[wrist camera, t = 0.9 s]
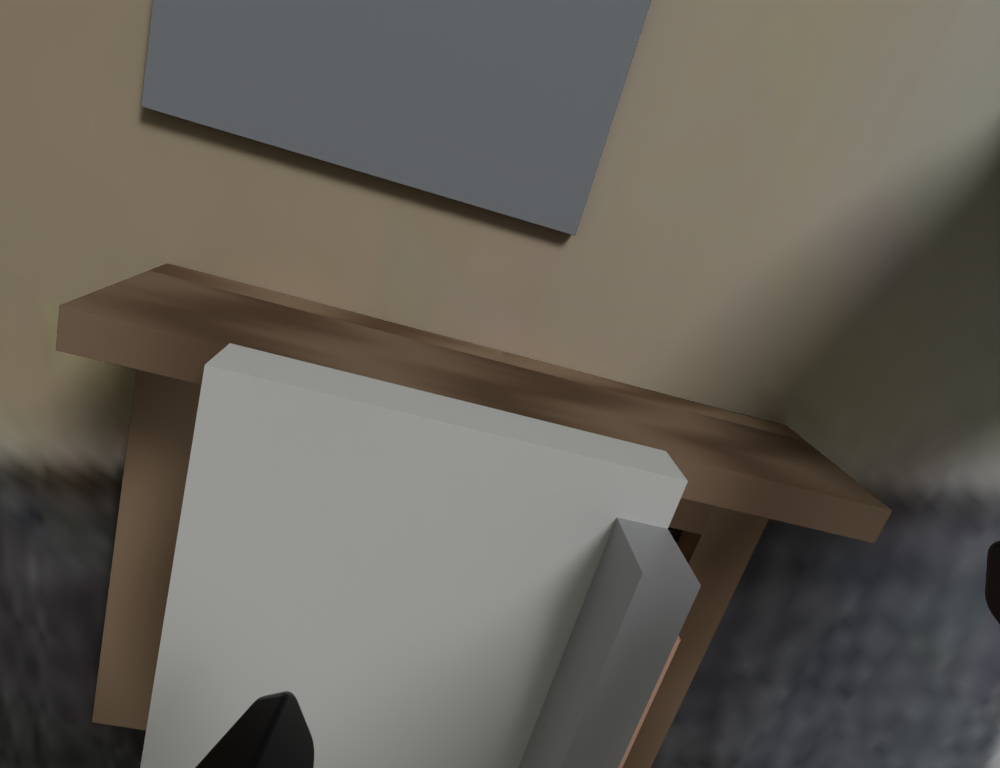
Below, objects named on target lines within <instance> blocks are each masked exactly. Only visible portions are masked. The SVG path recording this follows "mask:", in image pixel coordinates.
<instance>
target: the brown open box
mask: <svg viewBox="0 0 1000 768" xmlns="http://www.w3.org/2000/svg"><path fill="white" fill-rule="evenodd" d="M229 343H231V344H235V345H239V346H243V347H247V348H251V349H256V350H260V351H264V352H268V353H272V354H276V355H280V356H284V357H288V358H292V359H296V360H300V361H304V362H308V363H312V364H316V365H320V366H324V367H328V368H332V369H336V370H340V371H344V372H348V373H352V374H357V375H361V376H365V377H369V378H373V379H377V380H381V381H385V382H389V383H393V384H397V385H401V386H405V387H409V388H413V389H417V390H421V391H425V392H429V393H433V394H437V395H441V396H445V397H449V398H453V399H457V400H462V401H466V402H470V403H474V404H478V405H482V406H486V407H490V408H494V409H498V410H502V411H506V412H510V413H514V414H518V415H522V416H526V417H530V418H534V419H538V420H542V421H546V422H550V423H554V424H558V425H562V426H567V427H571V428H575V429H579V430H583V431H587V432H591V433H595V434H599V435H603V436H607V437H611V438H615V439H619V440H623V441H627V442H631V443H635V444H639V445H643V446H647V447H651V448H655V449H659V450H663V451H666V452H667V453H668V455H669V456H670V457H671V459H672V460H673V461H674V463H675V464H676V465H677V467H678V468H679V470H680V471H681V472H682V474H683V475H684V476H685V478H686V479H687V481H688V482H687V485H686V487H685V489H684V492H683V494H682V497H681V499H680V501H679V504H678V506H677V508H676V511H675V513H674V515H673V518H672V520H671V522H670V525H669V527H671V528H675V529H680V530H683V531H682V533H681V536H680V538H679V540H678V543H677V545H678V547H679V549H680V551H681V552H682V554H683V556H684V557H685V559H686V561H687V563H688V564H689V566H690V568H691V569H692V571H693V573H694V574H695V576H696V578H697V580H698V581H699V583H700V585H701V587H700V589H699V591H698V593H697V596H696V598H695V600H694V602H693V604H692V607H691V609H690V611H689V613H688V615H687V618H686V620H685V622H684V624H683V626H682V629H681V631H680V633H679V637H680V639H681V641H680V643H679V645H678V647H677V649H676V652H675V654H674V656H673V658H672V660H671V662H670V665H669V667H668V669H667V671H666V673H665V676H664V678H663V680H662V682H661V684H660V686H659V689H658V691H657V693H656V695H655V697H654V700H653V702H652V704H651V706H650V708H649V710H648V713H647V715H646V717H645V719H644V721H643V724H642V726H641V728H640V730H639V732H638V734H637V737H636V739H635V741H634V743H633V745H632V748H631V750H630V752H629V754H628V756H627V758H626V761H625V763H624V765H623V767H622V768H651V766H652V764H653V762H654V760H655V758H656V755H657V753H658V751H659V749H660V747H661V745H662V743H663V741H664V739H665V737H666V734H667V732H668V730H669V728H670V726H671V724H672V722H673V720H674V718H675V716H676V713H677V711H678V709H679V707H680V705H681V703H682V701H683V699H684V697H685V694H686V692H687V690H688V688H689V686H690V684H691V682H692V680H693V678H694V676H695V673H696V671H697V669H698V667H699V665H700V663H701V661H702V659H703V657H704V655H705V652H706V650H707V648H708V646H709V644H710V642H711V640H712V638H713V636H714V633H715V631H716V629H717V627H718V625H719V623H720V621H721V619H722V617H723V615H724V612H725V610H726V608H727V606H728V604H729V602H730V600H731V598H732V596H733V594H734V591H735V589H736V587H737V585H738V583H739V581H740V579H741V577H742V575H743V572H744V570H745V568H746V566H747V564H748V562H749V560H750V558H751V556H752V554H753V551H754V549H755V547H756V545H757V543H758V541H759V539H760V537H761V535H762V533H763V530H764V528H765V526H766V524H767V522H768V520H769V519H773V520H777V521H782V522H786V523H790V524H794V525H798V526H803V527H807V528H811V529H815V530H820V531H824V532H828V533H832V534H837V535H841V536H845V537H849V538H854V539H858V540H862V541H866V542H870V543H875V542H876V540H877V538H878V536H879V534H880V533H881V531H882V529H883V527H884V525H885V523H886V521H887V520H888V518H889V516H890V514H891V512H892V510H891V509H890V508H888V507H887V506H886V505H885V504H883V503H882V502H881V501H880V500H878V499H877V498H876V497H875V496H873V495H872V494H871V493H870V492H868V491H867V490H866V489H865V488H863V487H862V486H861V485H860V484H859V483H857V482H856V481H855V480H854V479H852V478H851V477H850V476H849V475H847V474H846V473H845V472H844V471H842V470H841V469H840V468H839V467H837V466H836V465H835V464H834V463H832V462H831V461H830V460H829V459H827V458H826V457H825V456H824V455H822V454H821V453H820V452H819V451H817V450H816V449H815V448H814V447H812V446H811V445H810V444H809V443H807V442H806V441H805V440H804V439H802V438H801V437H800V436H799V435H797V434H796V433H795V432H794V431H792V430H791V429H790V428H789V427H787V426H784V425H780V424H776V423H772V422H769V421H765V420H761V419H757V418H753V417H750V416H746V415H742V414H738V413H734V412H730V411H727V410H723V409H719V408H715V407H711V406H708V405H704V404H700V403H696V402H692V401H689V400H685V399H681V398H677V397H673V396H670V395H666V394H662V393H658V392H654V391H651V390H647V389H643V388H639V387H635V386H632V385H628V384H624V383H620V382H616V381H612V380H609V379H605V378H601V377H597V376H593V375H590V374H586V373H582V372H578V371H574V370H571V369H567V368H563V367H559V366H555V365H552V364H548V363H544V362H540V361H536V360H533V359H529V358H525V357H521V356H517V355H514V354H510V353H506V352H502V351H498V350H495V349H491V348H487V347H483V346H479V345H475V344H472V343H468V342H464V341H460V340H456V339H453V338H449V337H445V336H441V335H437V334H434V333H430V332H426V331H422V330H418V329H415V328H411V327H407V326H403V325H399V324H396V323H392V322H388V321H384V320H380V319H377V318H373V317H369V316H365V315H361V314H357V313H354V312H350V311H346V310H342V309H338V308H335V307H331V306H327V305H323V304H319V303H316V302H312V301H308V300H304V299H300V298H297V297H293V296H289V295H285V294H281V293H278V292H274V291H270V290H266V289H262V288H259V287H255V286H251V285H247V284H243V283H239V282H236V281H232V280H228V279H224V278H220V277H217V276H213V275H209V274H205V273H201V272H198V271H194V270H190V269H186V268H182V267H179V266H175V265H171V264H165V265H162V266H160V267H157V268H154V269H152V270H149V271H147V272H144V273H142V274H139V275H136V276H134V277H131V278H129V279H126V280H123V281H121V282H118V283H116V284H113V285H111V286H108V287H105V288H103V289H100V290H98V291H95V292H93V293H90V294H87V295H85V296H82V297H80V298H77V299H74V300H72V301H69V302H67V303H64V304H62V305H60V306H59V317H58V329H57V341H56V350H57V351H61V352H66V353H70V354H74V355H78V356H82V357H87V358H91V359H95V360H99V361H104V362H108V363H112V364H116V365H121V366H125V367H129V368H133V369H137V371H136V379H135V386H134V394H133V402H132V410H131V418H130V426H129V434H128V442H127V450H126V457H125V465H124V473H123V481H122V489H121V497H120V505H119V513H118V521H117V528H116V536H115V544H114V552H113V560H112V568H111V576H110V584H109V592H108V600H107V607H106V615H105V623H104V631H103V639H102V647H101V655H100V663H99V671H98V678H97V686H96V694H95V702H94V710H93V718H92V722H94V723H100V724H107V725H113V726H120V727H127V728H133V729H140V730H146V728H147V722H148V716H149V710H150V703H151V697H152V691H153V685H154V678H155V672H156V666H157V660H158V653H159V647H160V641H161V635H162V628H163V622H164V616H165V610H166V604H167V597H168V591H169V585H170V579H171V572H172V566H173V560H174V554H175V547H176V541H177V535H178V529H179V522H180V516H181V510H182V504H183V497H184V491H185V485H186V479H187V472H188V466H189V460H190V454H191V447H192V441H193V435H194V429H195V422H196V416H197V410H198V404H199V397H200V391H201V385H202V379H203V372H204V366H205V364H206V363H207V362H208V361H210V360H211V359H212V358H213V357H214V356H215V355H217V354H218V353H219V352H220V351H221V350H222V349H224V348H225V347H226V346H227V345H228V344H229Z"/></svg>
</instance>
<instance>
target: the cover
mask: <svg viewBox="0 0 1000 768" xmlns="http://www.w3.org/2000/svg"><path fill="white" fill-rule="evenodd" d="M687 482H688V481H687V479H686V478H685V476H684V475H683V474H682V472H681V471H680V470H679V468H678V467H677V465H676V464H675V463H674V461H673V460H672V459H671V457H670V456H669V455H668V453H667V452H666V451H663V450H659V449H655V448H651V447H647V446H643V445H639V444H635V443H631V442H627V441H623V440H619V439H615V438H611V437H607V436H603V435H599V434H595V433H591V432H587V431H583V430H579V429H575V428H571V427H567V426H562V425H558V424H554V423H550V422H546V421H542V420H538V419H534V418H530V417H526V416H522V415H518V414H514V413H510V412H506V411H502V410H498V409H494V408H490V407H486V406H482V405H478V404H474V403H470V402H466V401H462V400H457V399H453V398H449V397H445V396H441V395H437V394H433V393H429V392H425V391H421V390H417V389H413V388H409V387H405V386H401V385H397V384H393V383H389V382H385V381H381V380H377V379H373V378H369V377H365V376H361V375H357V374H352V373H348V372H344V371H340V370H336V369H332V368H328V367H324V366H320V365H316V364H312V363H308V362H304V361H300V360H296V359H292V358H288V357H284V356H280V355H276V354H272V353H268V352H264V351H260V350H256V349H251V348H247V347H243V346H239V345H235V344H231V343H229V344H228V345H227V346H226V347H225V348H224V349H222V350H221V351H220V352H219V353H218V354H217V355H215V356H214V357H213V358H212V359H211V360H210V361H208V362H207V363H206V364H205V366H204V372H203V379H202V385H201V391H200V397H199V404H198V410H197V416H196V422H195V429H194V435H193V441H192V447H191V454H190V460H189V466H188V472H187V479H186V485H185V491H184V497H183V504H182V510H181V516H180V522H179V529H178V535H177V541H176V547H175V554H174V560H173V566H172V572H171V579H170V585H169V591H168V597H167V604H166V610H165V616H164V622H163V628H162V635H161V641H160V647H159V653H158V660H157V666H156V672H155V678H154V685H153V691H152V697H151V703H150V710H149V716H148V722H147V728H146V735H145V741H144V747H143V753H142V760H141V766H140V768H195V767H196V766H197V765H198V764H199V763H200V762H201V761H202V759H203V758H204V757H205V756H206V755H207V754H208V753H209V752H210V751H211V749H212V748H213V747H214V746H215V745H216V744H217V743H218V742H219V740H220V739H221V738H222V737H223V736H224V735H225V734H226V733H227V732H228V730H229V729H230V728H231V727H232V726H233V725H234V724H235V723H236V722H237V720H238V719H239V718H240V717H241V716H242V715H243V714H244V713H245V712H246V710H247V709H248V708H249V707H250V706H251V705H252V704H253V703H254V702H255V701H256V700H257V699H258V698H260V697H262V696H265V695H270V694H274V693H279V692H284V691H289V692H292V693H293V694H294V695H295V697H296V699H297V701H298V703H299V706H300V708H301V711H302V713H303V716H304V718H305V721H306V723H307V726H308V728H309V730H310V733H311V736H312V739H313V743H314V767H313V768H618V767H619V765H620V763H621V760H622V758H623V756H624V754H625V752H626V749H627V747H628V745H629V743H630V741H631V738H632V736H633V734H634V732H635V730H636V727H637V725H638V723H639V721H640V719H641V716H642V714H643V712H644V710H645V708H646V705H647V703H648V701H649V699H650V697H651V695H652V692H653V690H654V688H655V686H656V684H657V681H658V679H659V677H660V675H661V673H662V670H663V668H664V666H665V664H666V662H667V659H668V657H669V655H670V653H671V651H672V648H673V646H674V644H675V642H676V640H677V637H678V635H679V633H680V631H681V629H682V626H683V624H684V622H685V620H686V618H687V615H688V613H689V611H690V609H691V607H692V604H693V602H694V600H695V598H696V596H697V593H698V591H699V589H700V587H701V585H700V583H699V581H698V580H697V578H696V576H695V574H694V573H693V571H692V569H691V568H690V566H689V564H688V563H687V561H686V559H685V557H684V556H683V554H682V552H681V551H680V549H679V547H678V545H677V544H676V542H675V540H674V539H673V537H672V535H671V533H670V532H669V530H668V527H669V525H670V522H671V520H672V518H673V515H674V513H675V511H676V508H677V506H678V504H679V501H680V499H681V497H682V494H683V492H684V489H685V487H686V485H687Z"/></svg>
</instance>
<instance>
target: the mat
mask: <svg viewBox="0 0 1000 768" xmlns="http://www.w3.org/2000/svg"><path fill="white" fill-rule="evenodd" d="M650 2H651V0H153V6H152V15H151V24H150V33H149V41H148V50H147V59H146V68H145V76H144V85H143V94H142V103H141V106H142V107H145V108H149V109H152V110H155V111H159V112H162V113H165V114H169V115H172V116H175V117H179V118H182V119H185V120H189V121H192V122H196V123H199V124H202V125H206V126H209V127H212V128H216V129H219V130H222V131H226V132H229V133H232V134H236V135H239V136H243V137H246V138H249V139H253V140H256V141H259V142H263V143H266V144H269V145H273V146H276V147H279V148H283V149H286V150H289V151H293V152H296V153H300V154H303V155H306V156H310V157H313V158H316V159H320V160H323V161H326V162H330V163H333V164H336V165H340V166H343V167H347V168H350V169H353V170H357V171H360V172H363V173H367V174H370V175H373V176H377V177H380V178H383V179H387V180H390V181H393V182H397V183H400V184H404V185H407V186H410V187H414V188H417V189H420V190H424V191H427V192H430V193H434V194H437V195H440V196H444V197H447V198H451V199H454V200H457V201H461V202H464V203H467V204H471V205H474V206H477V207H481V208H484V209H487V210H491V211H494V212H497V213H501V214H504V215H508V216H511V217H514V218H518V219H521V220H524V221H528V222H531V223H534V224H538V225H541V226H544V227H548V228H551V229H555V230H558V231H561V232H565V233H568V234H571V235H576V232H577V229H578V226H579V222H580V219H581V216H582V213H583V210H584V207H585V204H586V201H587V198H588V195H589V191H590V188H591V185H592V182H593V179H594V176H595V173H596V170H597V167H598V164H599V160H600V157H601V154H602V151H603V148H604V145H605V142H606V139H607V136H608V133H609V130H610V126H611V123H612V120H613V117H614V114H615V111H616V108H617V105H618V102H619V99H620V95H621V92H622V89H623V86H624V83H625V80H626V77H627V74H628V71H629V68H630V64H631V61H632V58H633V55H634V52H635V49H636V46H637V43H638V40H639V37H640V33H641V30H642V27H643V24H644V21H645V18H646V15H647V12H648V9H649V6H650Z"/></svg>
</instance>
